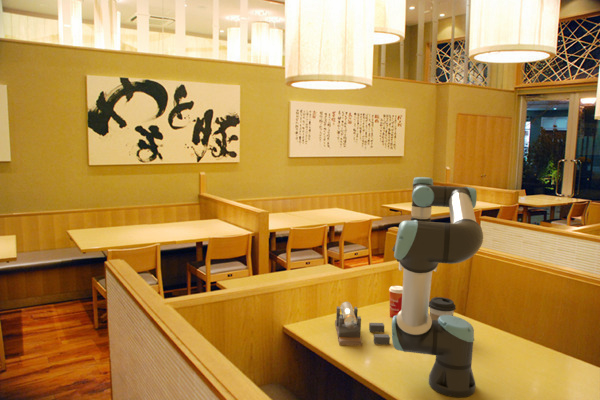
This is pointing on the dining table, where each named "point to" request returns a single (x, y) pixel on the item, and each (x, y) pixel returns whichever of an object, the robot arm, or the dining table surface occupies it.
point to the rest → (379, 337)
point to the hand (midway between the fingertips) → (417, 270)
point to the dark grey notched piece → (348, 330)
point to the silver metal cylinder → (348, 315)
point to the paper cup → (395, 300)
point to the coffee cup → (441, 307)
